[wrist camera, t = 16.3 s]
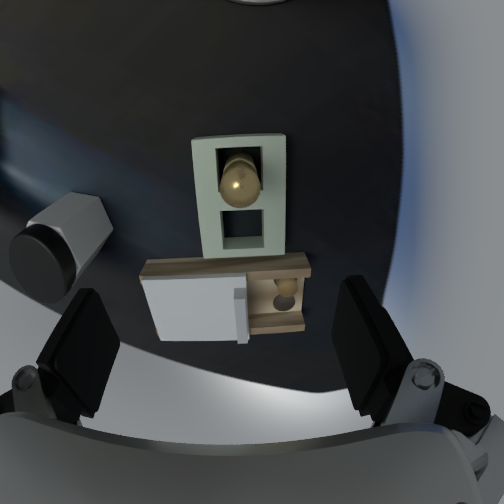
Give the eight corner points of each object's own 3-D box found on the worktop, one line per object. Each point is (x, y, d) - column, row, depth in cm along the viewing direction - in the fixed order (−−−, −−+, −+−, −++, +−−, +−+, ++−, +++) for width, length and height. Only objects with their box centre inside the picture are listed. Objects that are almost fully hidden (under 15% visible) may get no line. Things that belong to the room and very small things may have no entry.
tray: (147, 259, 34) (138, 276, 30) (304, 252, 34) (311, 268, 31) (163, 317, 39) (158, 335, 35) (299, 312, 39) (304, 330, 36)
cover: (143, 276, 30) (136, 290, 28) (245, 272, 31) (246, 287, 28) (161, 336, 35) (157, 351, 33) (249, 335, 36) (249, 350, 33)
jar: (60, 242, 32) (14, 292, 21) (58, 188, 28) (-1, 227, 18) (113, 256, 33) (74, 315, 23) (115, 198, 30) (64, 244, 19)
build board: (195, 137, 27) (191, 140, 24) (281, 133, 27) (285, 135, 25) (206, 246, 33) (203, 258, 31) (280, 242, 33) (284, 254, 31)
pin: (225, 151, 28) (218, 170, 19) (253, 149, 28) (260, 168, 19) (226, 177, 29) (221, 209, 21) (254, 176, 29) (261, 207, 21)
